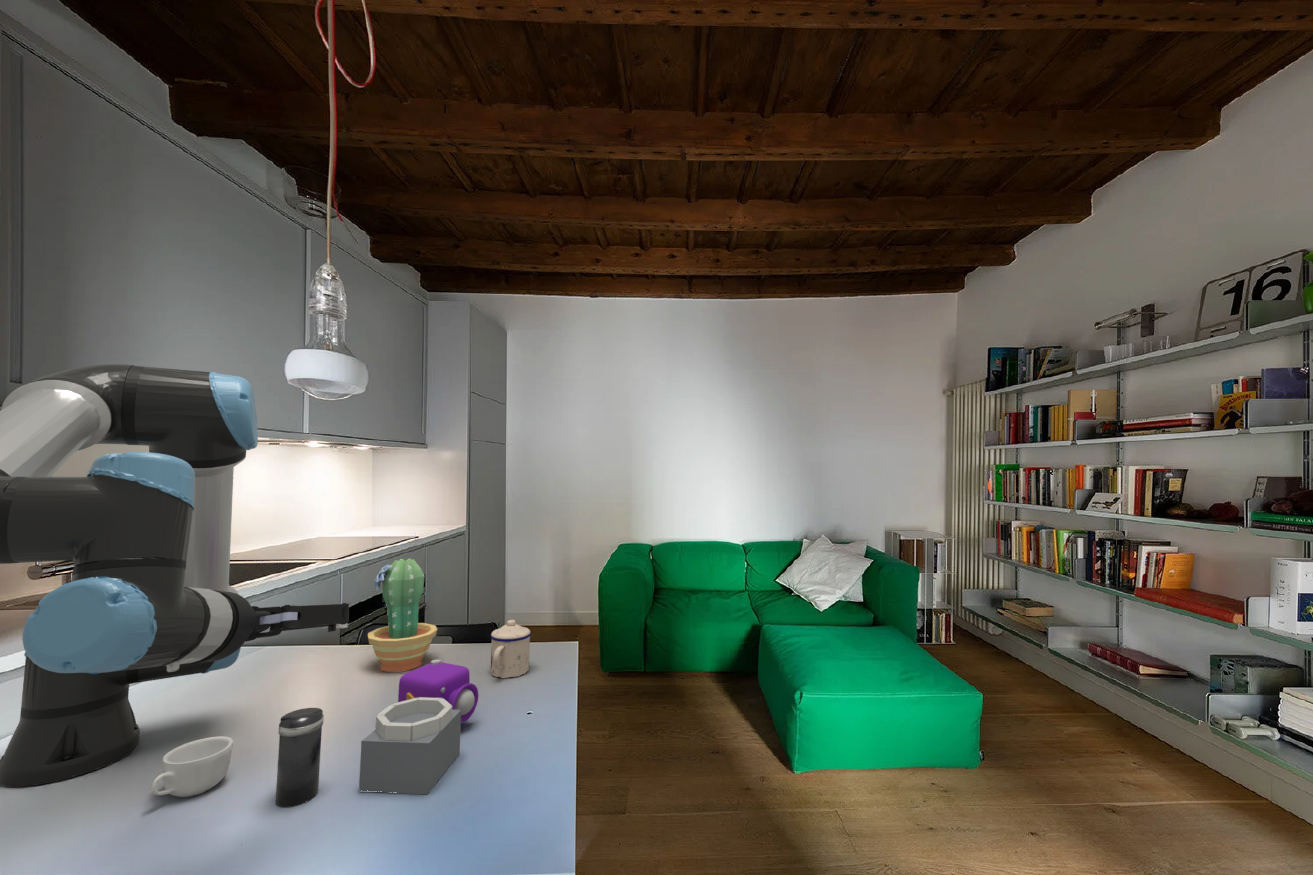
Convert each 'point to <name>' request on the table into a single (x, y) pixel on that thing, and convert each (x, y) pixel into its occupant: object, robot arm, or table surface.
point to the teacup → (194, 767)
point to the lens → (299, 756)
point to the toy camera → (441, 686)
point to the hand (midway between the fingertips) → (293, 626)
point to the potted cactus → (401, 618)
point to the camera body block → (410, 746)
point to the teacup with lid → (510, 650)
